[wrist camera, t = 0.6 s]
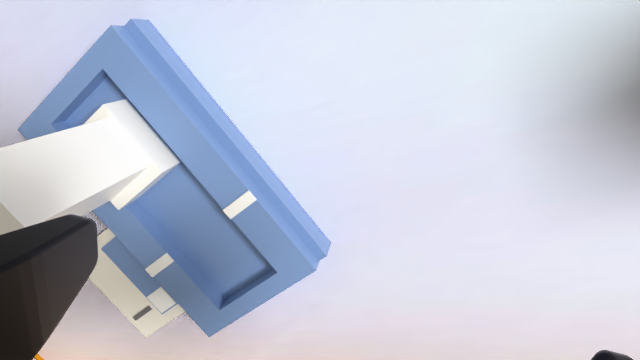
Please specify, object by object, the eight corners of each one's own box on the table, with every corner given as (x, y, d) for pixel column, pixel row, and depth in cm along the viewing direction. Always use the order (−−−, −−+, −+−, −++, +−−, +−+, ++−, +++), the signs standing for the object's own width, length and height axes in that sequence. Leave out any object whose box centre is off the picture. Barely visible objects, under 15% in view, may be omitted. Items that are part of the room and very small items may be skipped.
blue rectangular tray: (330, 242, 23) (323, 266, 21) (220, 313, 26) (202, 342, 24) (148, 20, 21) (116, 17, 18) (50, 125, 24) (10, 135, 21)
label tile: (199, 300, 26) (195, 305, 25) (149, 333, 28) (144, 339, 27) (122, 215, 25) (116, 219, 24) (75, 256, 27) (69, 260, 26)
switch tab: (180, 161, 21) (44, 240, 13) (139, 197, 22) (-11, 290, 14) (127, 98, 20) (-54, 139, 12) (87, 138, 22) (-103, 200, 13)
